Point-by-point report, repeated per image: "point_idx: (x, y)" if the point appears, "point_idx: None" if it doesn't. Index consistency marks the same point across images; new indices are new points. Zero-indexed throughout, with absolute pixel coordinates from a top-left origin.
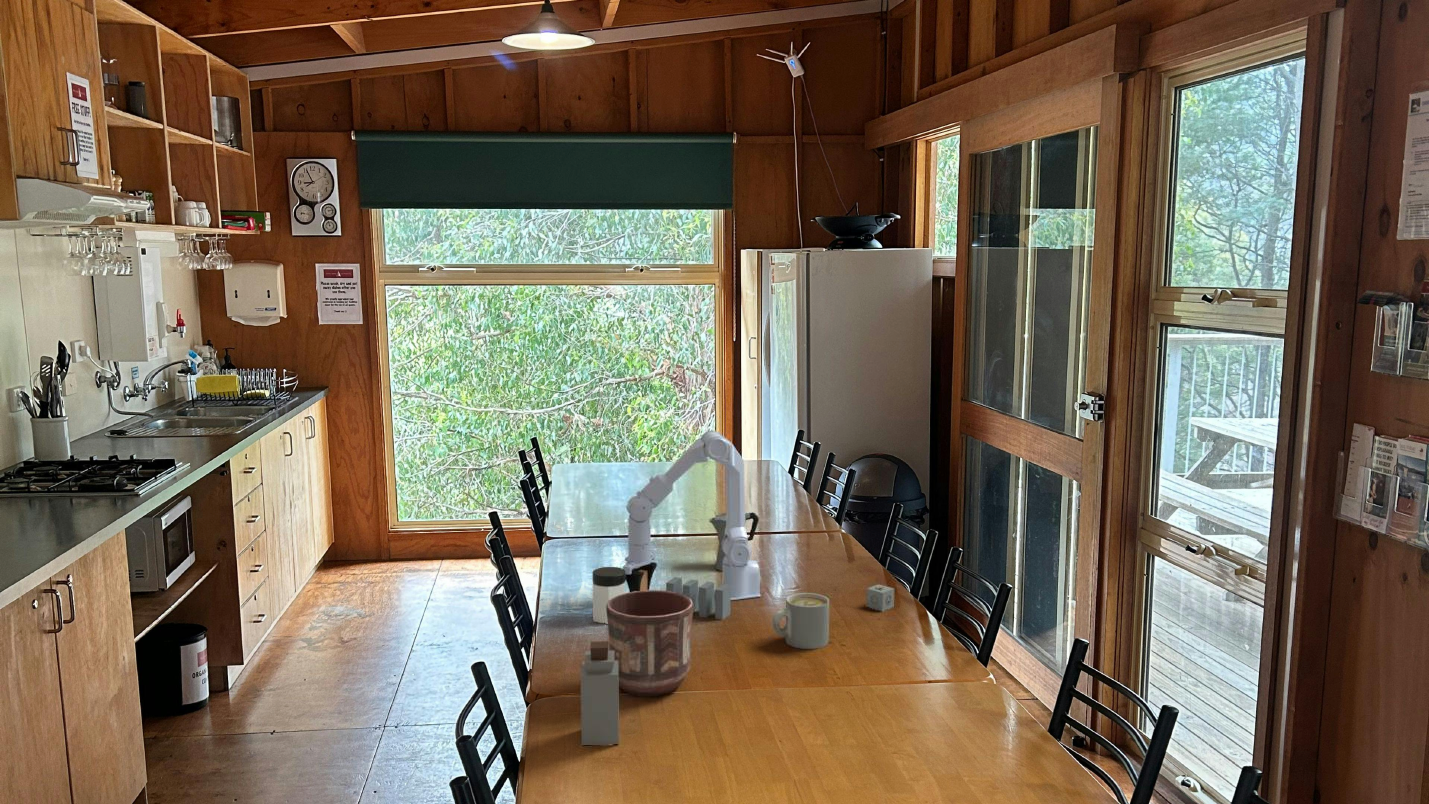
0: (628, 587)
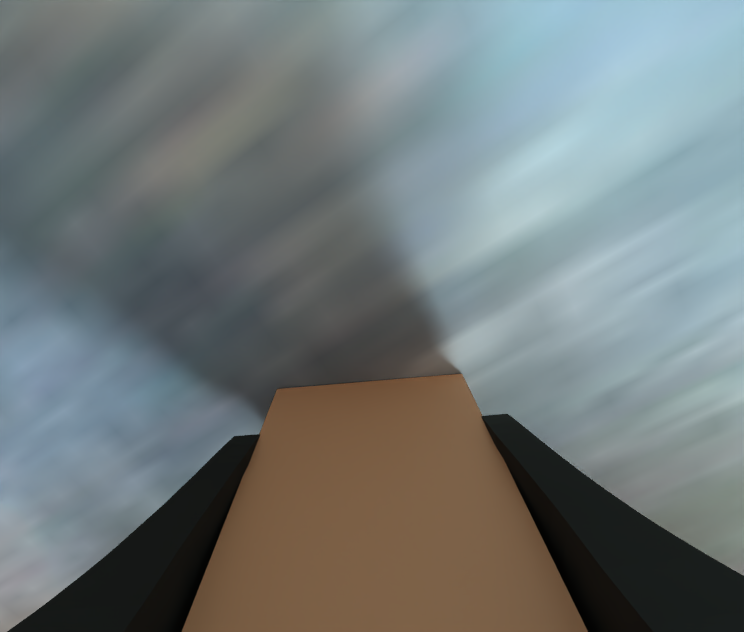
0: (157, 510)
